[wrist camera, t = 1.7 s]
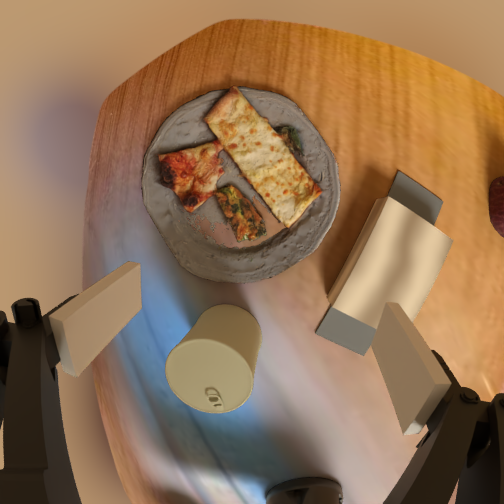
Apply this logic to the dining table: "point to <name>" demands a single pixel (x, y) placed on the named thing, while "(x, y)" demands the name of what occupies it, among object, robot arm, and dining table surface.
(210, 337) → the can
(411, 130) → the dining table surface
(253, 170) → the food plate
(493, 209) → the vegetable
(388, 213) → the beige wavy block
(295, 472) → the dining table surface
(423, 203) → the mat
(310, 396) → the dining table surface
